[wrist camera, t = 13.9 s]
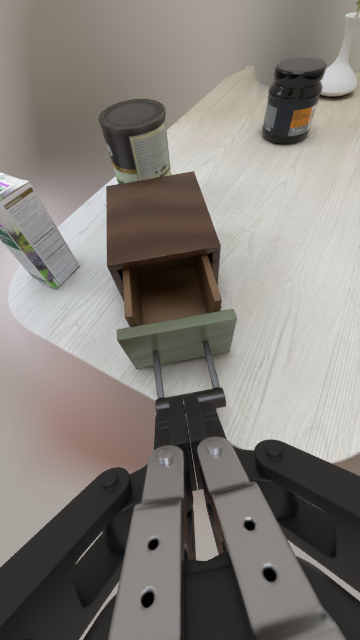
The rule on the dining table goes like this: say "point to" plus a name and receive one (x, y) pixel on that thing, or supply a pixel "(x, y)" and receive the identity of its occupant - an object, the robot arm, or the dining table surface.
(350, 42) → the flower in vase
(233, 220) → the dining table surface
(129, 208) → the cabinet
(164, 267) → the drawer
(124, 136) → the coffee can
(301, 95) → the supplement container
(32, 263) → the syrup box
